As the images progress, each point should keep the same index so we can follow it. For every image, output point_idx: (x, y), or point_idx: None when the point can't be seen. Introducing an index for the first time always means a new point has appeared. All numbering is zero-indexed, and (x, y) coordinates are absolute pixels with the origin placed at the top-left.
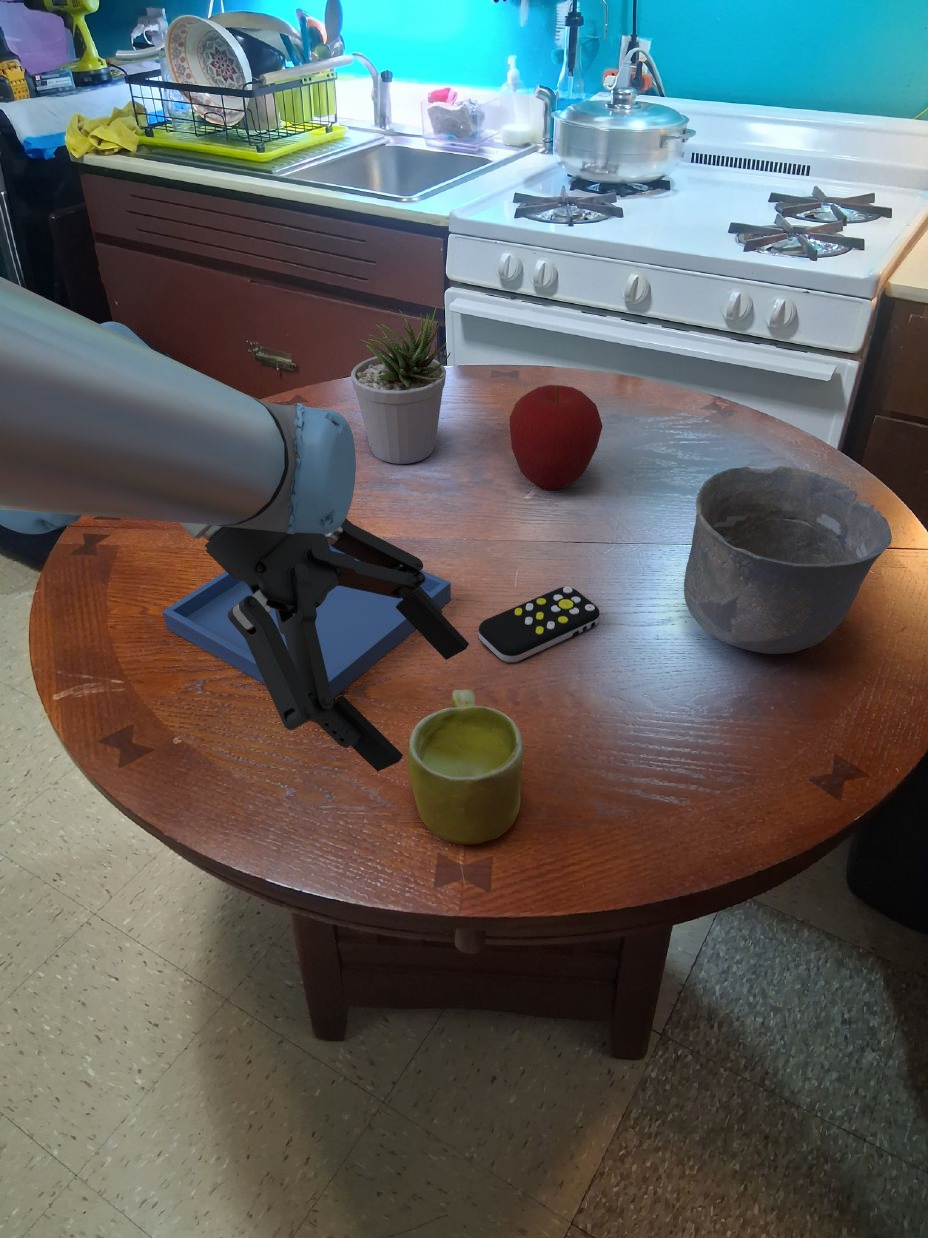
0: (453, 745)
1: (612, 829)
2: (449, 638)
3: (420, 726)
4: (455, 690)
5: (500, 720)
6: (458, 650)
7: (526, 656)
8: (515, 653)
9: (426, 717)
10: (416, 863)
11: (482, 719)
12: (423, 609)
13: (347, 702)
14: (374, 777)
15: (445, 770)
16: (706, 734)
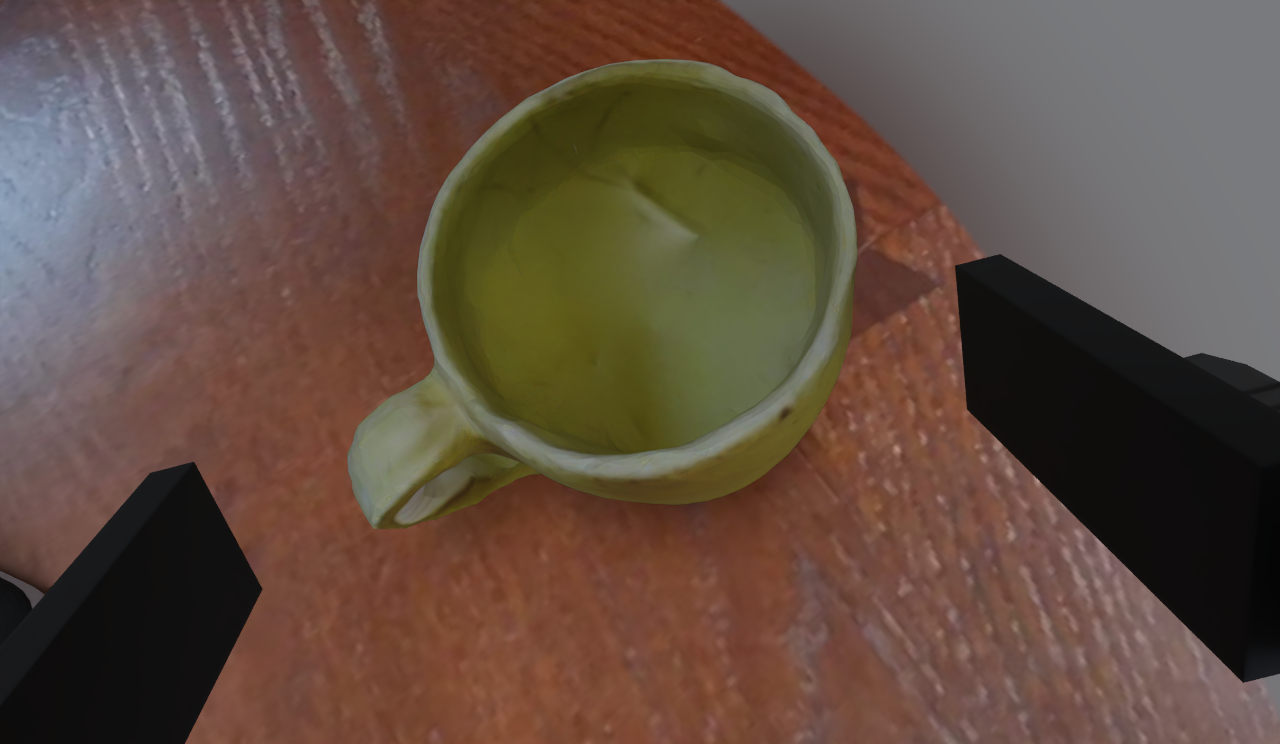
0: (603, 379)
1: (520, 67)
2: (168, 548)
3: (661, 450)
4: (382, 493)
5: (450, 245)
6: (210, 507)
7: (9, 576)
8: (15, 594)
9: (603, 463)
10: (914, 366)
11: (461, 329)
12: (37, 715)
13: (1230, 432)
14: (749, 686)
15: (715, 334)
16: (135, 46)
